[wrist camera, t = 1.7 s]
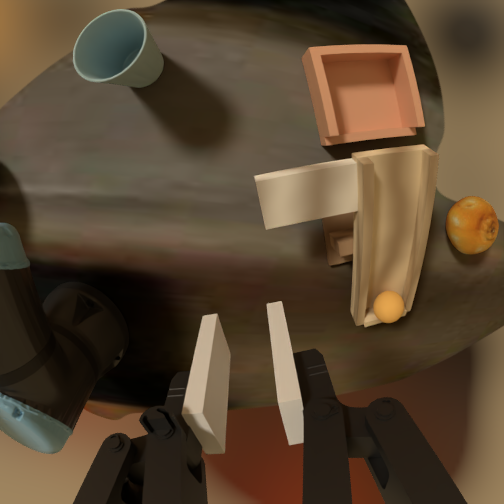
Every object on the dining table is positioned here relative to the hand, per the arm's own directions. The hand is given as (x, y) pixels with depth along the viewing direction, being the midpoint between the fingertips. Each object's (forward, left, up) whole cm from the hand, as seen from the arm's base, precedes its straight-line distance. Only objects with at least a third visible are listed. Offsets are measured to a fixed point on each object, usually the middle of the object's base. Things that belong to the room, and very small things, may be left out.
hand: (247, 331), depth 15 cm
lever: (+10, -4, -17) cm, 20 cm away
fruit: (+31, -6, -23) cm, 38 cm away
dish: (+17, +13, -23) cm, 31 cm away
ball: (+15, -12, -17) cm, 26 cm away
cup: (-8, +22, -23) cm, 33 cm away
